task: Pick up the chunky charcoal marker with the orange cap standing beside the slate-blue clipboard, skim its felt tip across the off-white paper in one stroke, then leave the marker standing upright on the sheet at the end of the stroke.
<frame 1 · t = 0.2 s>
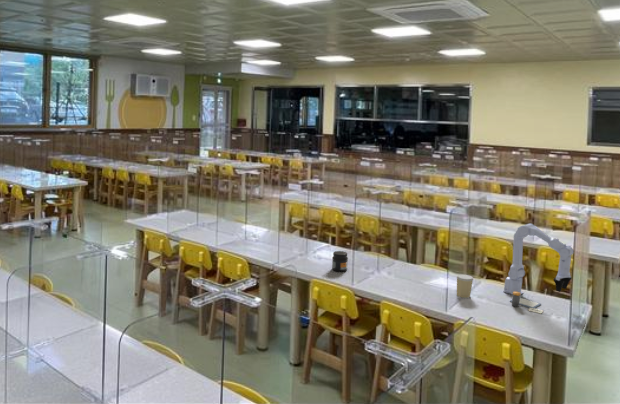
hand: (561, 289, 301), 10 cm above the table, fingers open, 7 cm apart
supplement container: (339, 270, 355), on the table
coffee cup: (463, 296, 315), on the table
word card: (535, 310, 295), on the table
clipboard: (525, 303, 306), on the table
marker: (515, 305, 301), on the table
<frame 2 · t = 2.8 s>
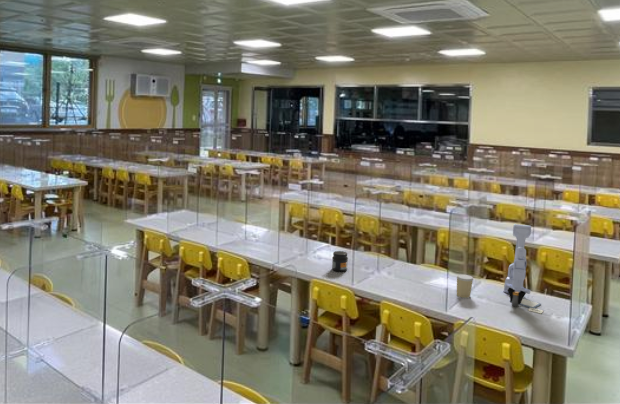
hand: (515, 302, 301), 2 cm above the table, fingers closed on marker, 4 cm apart
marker: (515, 305, 301), on the table, touching gripper
everything else where it was.
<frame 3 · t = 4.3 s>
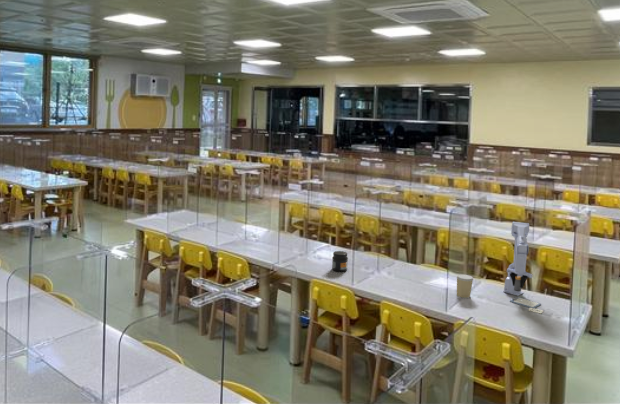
hand: (517, 286, 307), 9 cm above the table, fingers closed on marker, 4 cm apart
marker: (517, 290, 308), point 7 cm above the table, touching gripper
everything else where it was.
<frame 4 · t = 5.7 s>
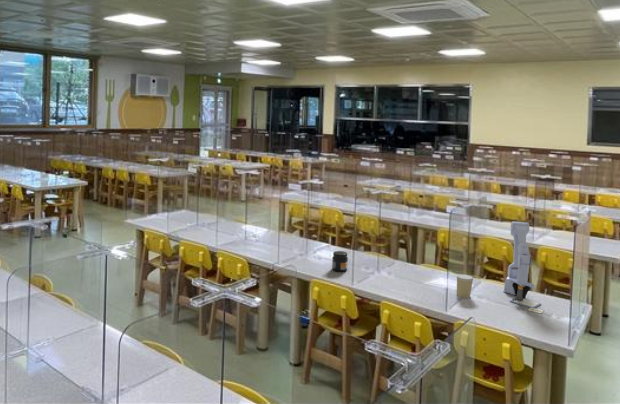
hand: (520, 296, 308), 3 cm above the table, fingers closed on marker, 4 cm apart
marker: (519, 299, 308), point 1 cm above the table, touching gripper
everything else where it was.
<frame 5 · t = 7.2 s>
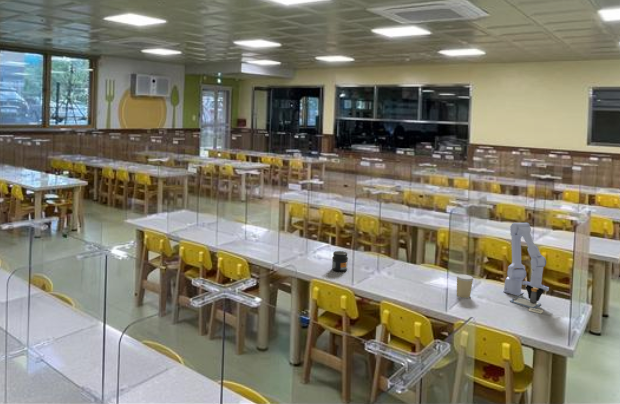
hand: (533, 299, 304), 3 cm above the table, fingers closed on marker, 4 cm apart
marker: (533, 302, 305), point 1 cm above the table, touching gripper
everything else where it was.
when the fingers open (3 cm above the table, at t = 8.5 s): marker stays where it is, resting on clipboard.
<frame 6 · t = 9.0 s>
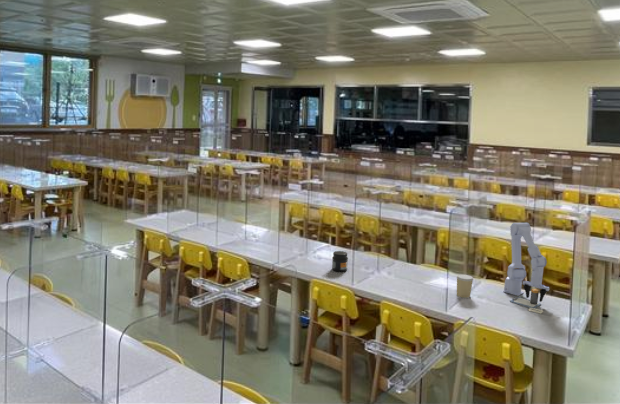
hand: (534, 299, 304), 3 cm above the table, fingers open, 7 cm apart
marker: (533, 303, 305), point 1 cm above the table, touching clipboard
everything else where it was.
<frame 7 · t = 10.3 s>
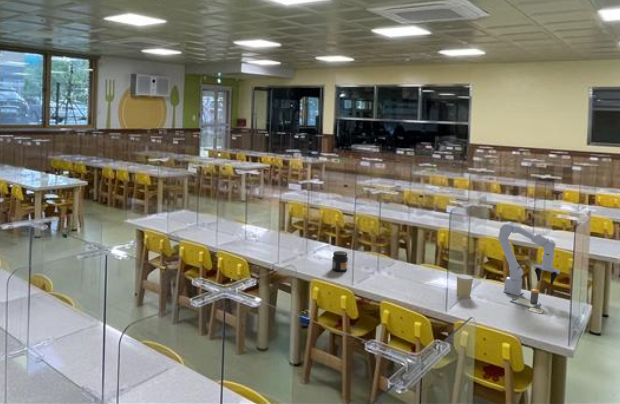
hand: (545, 282, 312), 10 cm above the table, fingers open, 7 cm apart
nothing on the table moved.
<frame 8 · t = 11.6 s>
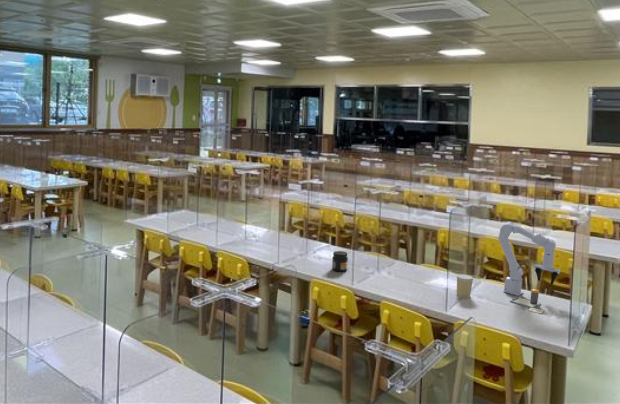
hand: (545, 282, 313), 10 cm above the table, fingers open, 7 cm apart
nothing on the table moved.
at the end: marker inside the target area (0.1 cm from its centre), point 0.7 cm above the table; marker tilted 0°; the gripper is holding nothing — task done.
